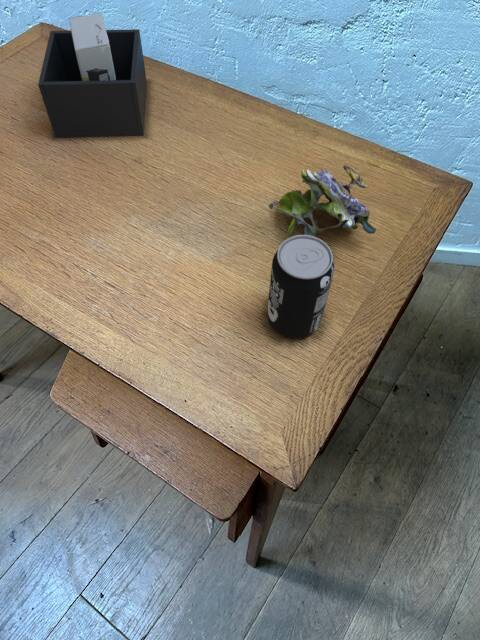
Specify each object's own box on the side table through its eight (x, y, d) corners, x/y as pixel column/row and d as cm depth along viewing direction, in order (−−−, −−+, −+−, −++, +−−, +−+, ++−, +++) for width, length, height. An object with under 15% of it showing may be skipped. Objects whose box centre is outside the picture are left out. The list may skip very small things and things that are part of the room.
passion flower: (336, 246, 80) (399, 219, 70) (286, 277, 74) (346, 253, 64) (301, 176, 79) (359, 138, 69) (247, 202, 73) (302, 165, 63)
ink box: (85, 88, 89) (67, 15, 79) (115, 84, 89) (101, 10, 80) (91, 122, 84) (73, 48, 74) (123, 117, 85) (109, 43, 75)
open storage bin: (55, 137, 84) (37, 84, 76) (65, 84, 91) (50, 30, 83) (143, 135, 84) (135, 82, 77) (146, 82, 92) (139, 29, 84)
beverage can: (258, 305, 68) (263, 240, 58) (307, 290, 69) (320, 224, 59) (279, 349, 64) (288, 288, 54) (329, 332, 66) (348, 270, 56)
